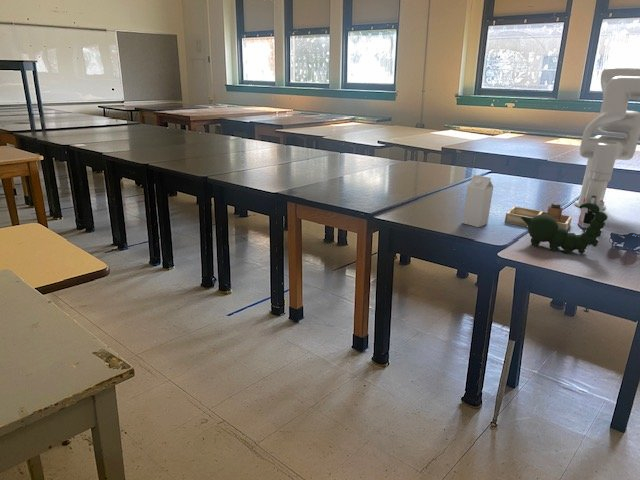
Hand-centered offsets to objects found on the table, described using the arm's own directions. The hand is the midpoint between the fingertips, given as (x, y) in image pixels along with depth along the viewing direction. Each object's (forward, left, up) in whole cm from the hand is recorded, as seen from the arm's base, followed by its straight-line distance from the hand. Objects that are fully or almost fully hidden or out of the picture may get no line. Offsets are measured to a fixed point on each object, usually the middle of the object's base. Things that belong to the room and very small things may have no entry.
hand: (589, 220), depth 187 cm
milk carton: (+24, -37, -3) cm, 44 cm away
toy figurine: (+34, -6, -3) cm, 35 cm away
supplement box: (0, 0, -3) cm, 3 cm away
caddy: (+8, -17, -3) cm, 19 cm away
